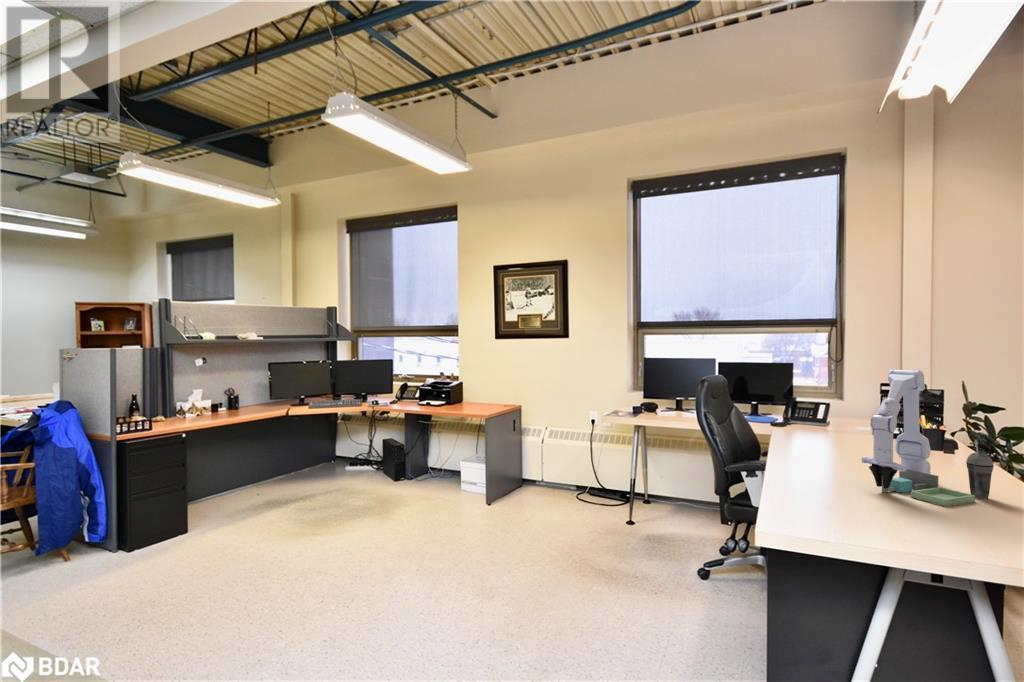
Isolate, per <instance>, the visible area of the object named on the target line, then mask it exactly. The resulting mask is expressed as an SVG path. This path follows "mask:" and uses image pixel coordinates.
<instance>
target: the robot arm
mask: <svg viewBox="0 0 1024 682" xmlns="http://www.w3.org/2000/svg"><path fill="white" fill-rule="evenodd" d="M887 381H888V383H889V386H890V388H889V392H888V395H887V398H884V399H883V400H882V401H881V403H880V406H879V408H878V410H877V412H876V414H875V415H872V417H871V419H870V423H869V424H870V428H871V435H872V436H873V443H872V444H873V449H872V453H873V457H868V456H862V457H861V463H863V464H869V466H868V469H869V470H870V471H871V474H872V475H873V478H874V480H875V485H876V487H879V488H882V476H883V488H885V489H886V488H889V487H890V484H891V481H892V479H893V478H895V476H896V474H897V473H898V471H901V472H904V471H906V469H909V470H914V471H918V472H923V473H927V474H931V464H930V462H929V461H928V459H929V458H930V456H931V451H932V450H931V445H930V441H929V438H927V437H926V436H925V435H923V434H922V433H921V432H920V429H921V427H920V392H921V391H925V375H924V372H922V369H921V370H919V369H915V370H913V369H912V370H910V369H894V368H891V369H890V370H889V372H888V374H887ZM901 399H903V401H902V403H903V406H902V405H901V404H900V401H901ZM901 407H903V408H902V409H903V432H902V433H901V434H898V435H897V437H896V440H895V441H896V442H895V447H894V433H895V431H896V429H897V423H898V418H897V417H898V415H899V412H900V410H901ZM894 449H895V450H894ZM894 451H895V453H896V454H897V455H898V457H899V458H900V463H897V462H894Z"/></svg>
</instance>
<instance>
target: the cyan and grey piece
mask: <svg viewBox="0 0 1024 682" xmlns="http://www.w3.org/2000/svg"><path fill="white" fill-rule="evenodd" d="M894 491H896V492H895V493H898V492H905V493H910V492H909V491H913V487H912V480H908V479H904V478H900V477H899V476H898V477H893V479H892V481H891V484H890V487H889V488H886V489H885V488H883V476H882V486H881V493H882V492H884V493H883V494H888V492H894Z"/></svg>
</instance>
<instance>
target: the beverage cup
mask: <svg viewBox="0 0 1024 682" xmlns="http://www.w3.org/2000/svg"><path fill="white" fill-rule="evenodd" d="M974 443H975V451H976V452H973V453H970V454H969V455H968V456H967V458H966V462H965V465H966V468H967V472H968V481H969V482H968V484H969V493H970V494H971V495H975V499H976V498H978V500H983V499H987V500H989V497H990V490H991V482H992V475H993V474H992V473H993V471H994V466H995V465H994V461H993V459H992V458H991V457H990V456H989V455H988V454H987V453H984V452H979V446H978V439H974Z"/></svg>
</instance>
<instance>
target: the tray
mask: <svg viewBox="0 0 1024 682" xmlns="http://www.w3.org/2000/svg"><path fill="white" fill-rule="evenodd" d="M911 497H912V498H911ZM910 498H911V499H915V498H916V500H918V499H920V500H919V501H922V500H923V502H926V501H927V502H926V503H930V502H931V503H930V504H933V503H935V504H934V505H937V504H938V506H941V505H942V507H944V506H946V507H950V506H951V507H952V506H958V504H959V505H964V504H965V503H966V504H971V503H976V498H975V495H971V493H966V492H962V491H957V490H954V489H950V488H946V487H940V486H938V488H930V489H923V490H915V491H913V490H912V491H911V492H910Z"/></svg>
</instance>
